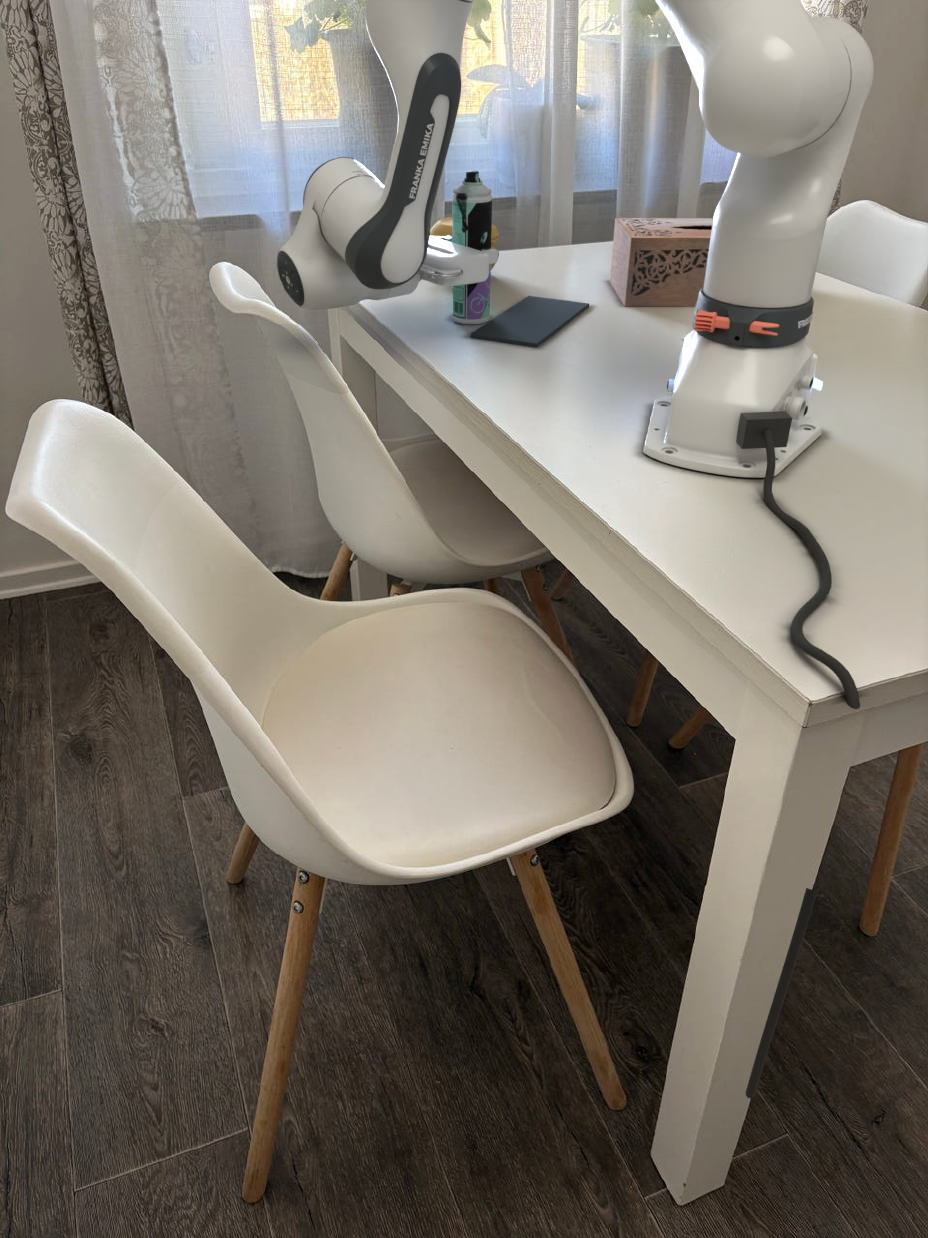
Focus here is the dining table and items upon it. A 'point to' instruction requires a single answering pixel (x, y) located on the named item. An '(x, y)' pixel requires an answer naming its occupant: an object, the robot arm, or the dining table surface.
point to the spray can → (472, 246)
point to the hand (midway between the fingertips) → (474, 248)
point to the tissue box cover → (660, 260)
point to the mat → (530, 321)
